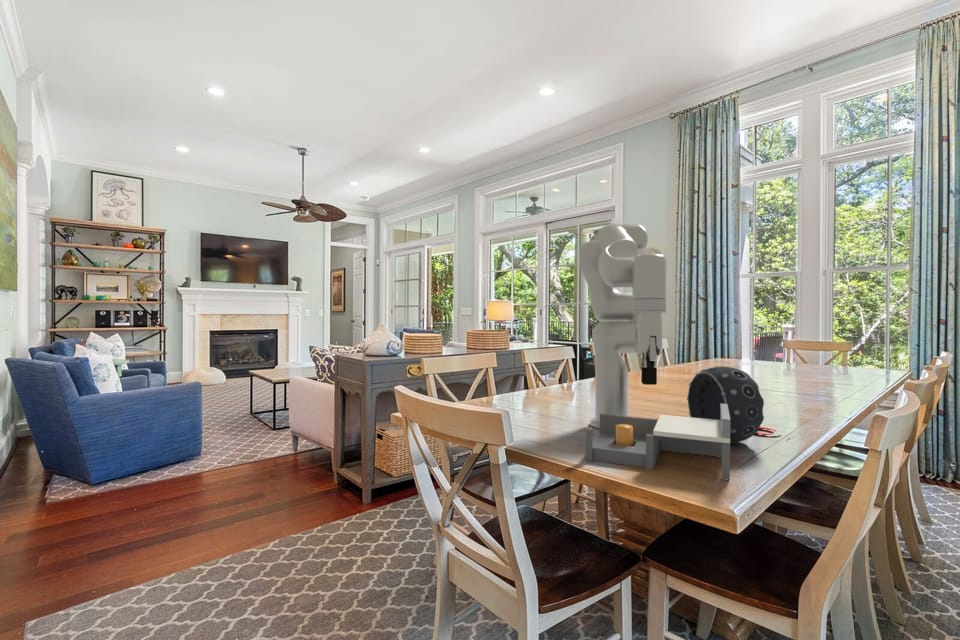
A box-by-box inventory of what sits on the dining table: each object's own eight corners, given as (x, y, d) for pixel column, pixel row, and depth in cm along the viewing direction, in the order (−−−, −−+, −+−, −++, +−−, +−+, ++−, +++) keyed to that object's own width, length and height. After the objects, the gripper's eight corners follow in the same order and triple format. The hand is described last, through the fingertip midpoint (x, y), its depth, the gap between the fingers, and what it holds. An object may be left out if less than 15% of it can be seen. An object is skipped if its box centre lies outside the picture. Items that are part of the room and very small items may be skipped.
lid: (660, 418, 119) (660, 398, 119) (727, 424, 113) (727, 404, 112) (653, 435, 104) (653, 412, 104) (730, 443, 97) (730, 419, 97)
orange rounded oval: (617, 451, 118) (617, 423, 118) (634, 453, 116) (634, 425, 116) (614, 455, 114) (614, 427, 114) (631, 458, 112) (631, 429, 112)
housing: (600, 441, 126) (600, 413, 126) (726, 457, 113) (727, 425, 113) (585, 460, 111) (585, 428, 110) (729, 480, 98) (730, 444, 97)
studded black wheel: (728, 453, 116) (728, 372, 115) (683, 432, 135) (684, 362, 135) (768, 451, 117) (769, 371, 116) (718, 430, 137) (719, 362, 136)
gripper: (628, 307, 119) (628, 379, 120) (637, 306, 105) (637, 388, 105) (659, 307, 118) (659, 379, 118) (673, 306, 103) (672, 389, 104)
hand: (649, 383), depth 112 cm, fingers closed
